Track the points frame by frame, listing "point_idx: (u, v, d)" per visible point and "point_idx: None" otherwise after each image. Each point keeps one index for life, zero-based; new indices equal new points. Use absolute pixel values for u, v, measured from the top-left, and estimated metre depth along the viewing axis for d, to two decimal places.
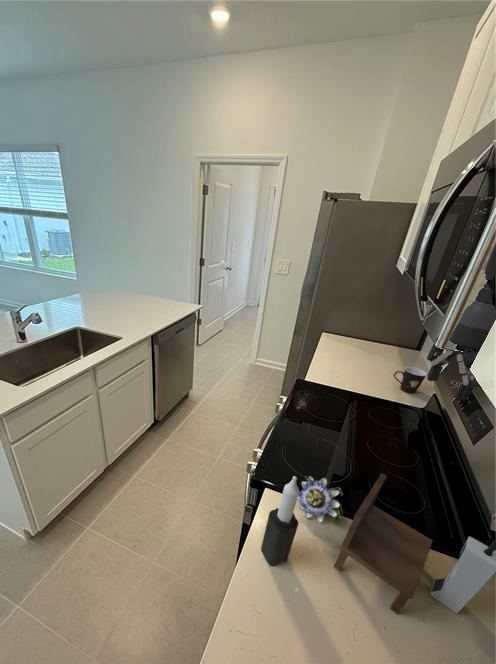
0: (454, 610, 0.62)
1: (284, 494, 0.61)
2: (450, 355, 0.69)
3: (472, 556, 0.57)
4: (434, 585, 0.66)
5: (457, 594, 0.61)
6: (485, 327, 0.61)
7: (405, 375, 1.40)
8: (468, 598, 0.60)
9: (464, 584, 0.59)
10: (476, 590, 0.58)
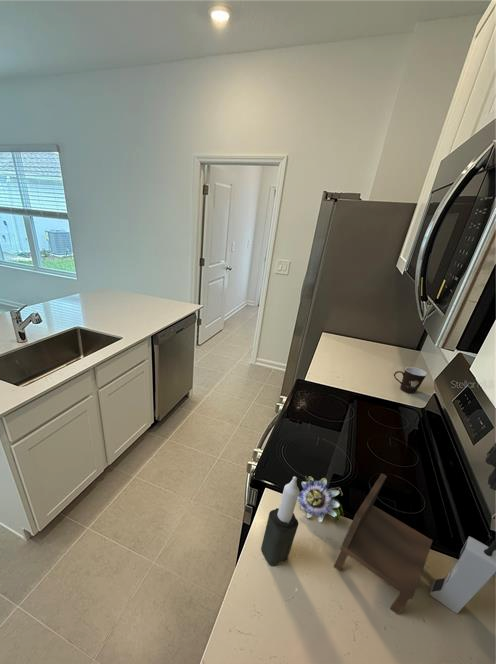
0: (454, 610, 0.62)
1: (284, 494, 0.61)
2: None
3: (472, 556, 0.57)
4: (434, 585, 0.66)
5: (457, 594, 0.61)
6: None
7: (405, 375, 1.40)
8: (468, 598, 0.60)
9: (464, 584, 0.59)
10: (476, 590, 0.58)
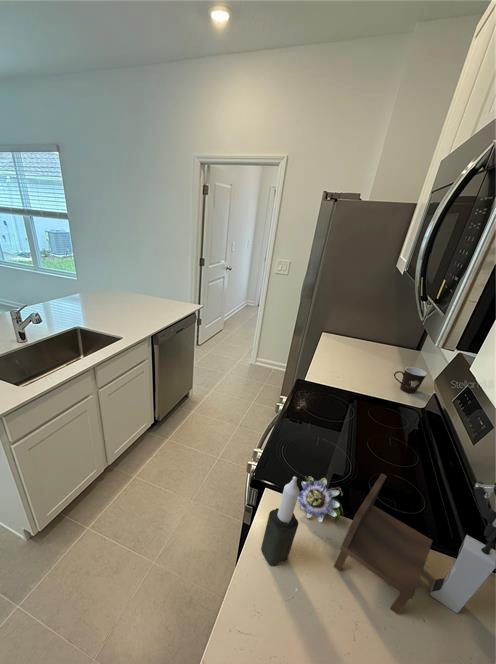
0: (454, 610, 0.62)
1: (284, 494, 0.61)
2: None
3: (470, 555, 0.57)
4: (434, 585, 0.66)
5: (457, 594, 0.61)
6: None
7: (405, 375, 1.40)
8: (467, 597, 0.60)
9: (462, 583, 0.60)
10: (475, 589, 0.58)
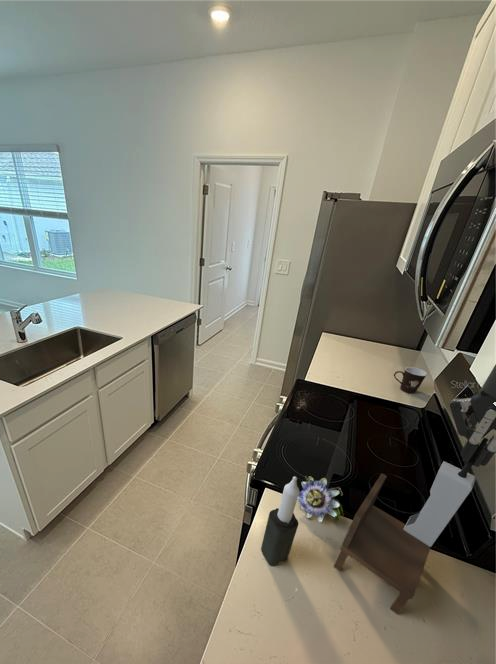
0: (428, 543, 0.59)
1: (284, 494, 0.61)
2: (494, 417, 0.46)
3: (446, 479, 0.53)
4: (409, 520, 0.63)
5: (431, 525, 0.58)
6: None
7: (405, 375, 1.40)
8: (442, 527, 0.56)
9: (437, 512, 0.56)
10: (450, 517, 0.55)
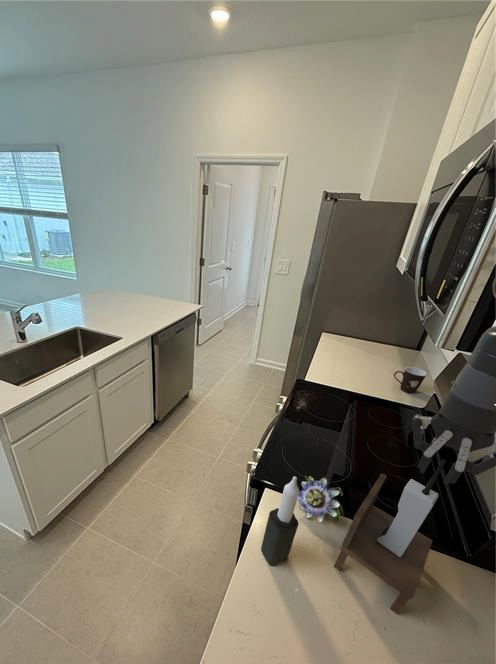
0: (398, 554, 0.64)
1: (284, 494, 0.61)
2: (450, 437, 0.51)
3: (410, 496, 0.58)
4: (382, 532, 0.67)
5: (400, 537, 0.62)
6: None
7: (405, 375, 1.40)
8: (409, 540, 0.61)
9: (404, 526, 0.61)
10: (415, 530, 0.59)
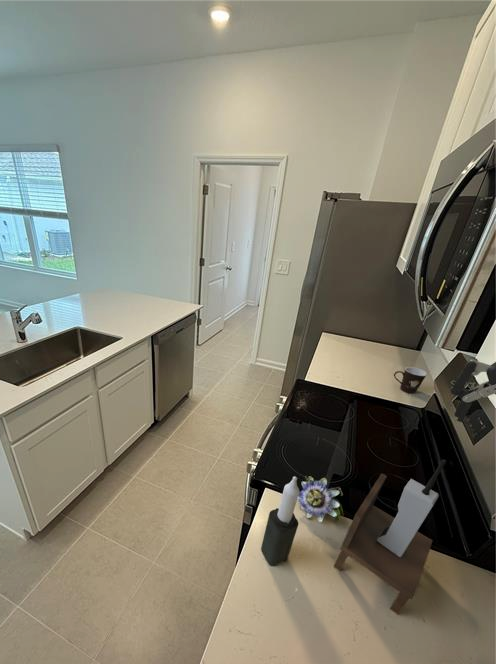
0: (398, 554, 0.64)
1: (284, 494, 0.61)
2: None
3: (410, 496, 0.58)
4: (382, 532, 0.67)
5: (400, 537, 0.62)
6: None
7: (405, 375, 1.40)
8: (409, 540, 0.61)
9: (404, 526, 0.61)
10: (415, 530, 0.59)
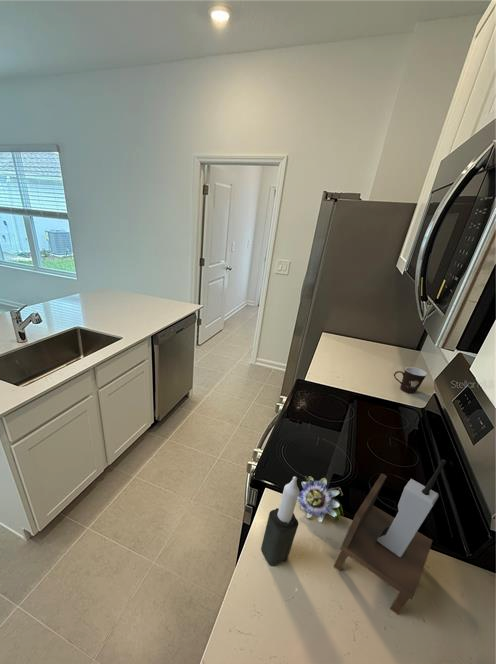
0: (398, 554, 0.64)
1: (284, 494, 0.61)
2: None
3: (410, 496, 0.58)
4: (382, 532, 0.67)
5: (400, 537, 0.62)
6: None
7: (405, 375, 1.40)
8: (409, 540, 0.61)
9: (404, 526, 0.61)
10: (415, 530, 0.59)
